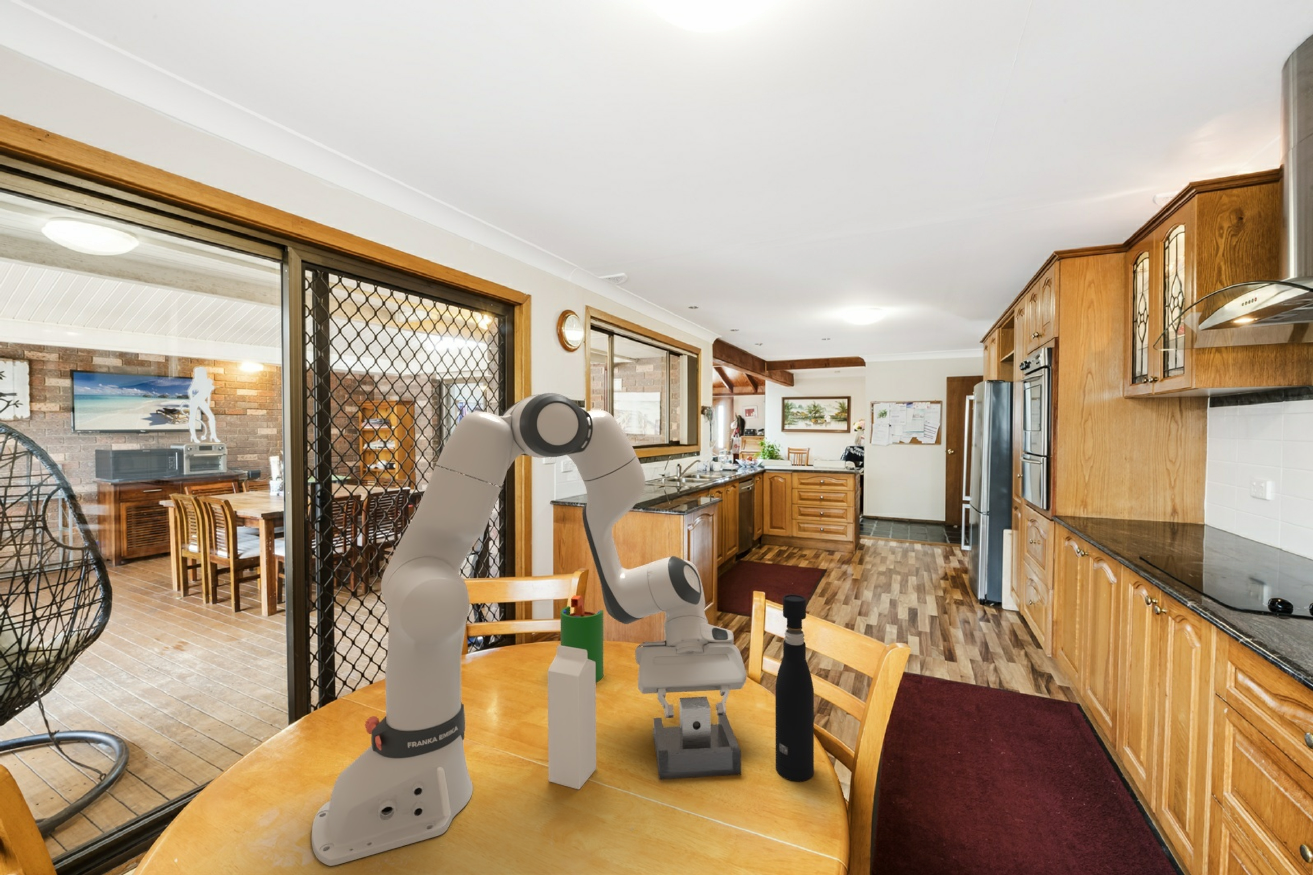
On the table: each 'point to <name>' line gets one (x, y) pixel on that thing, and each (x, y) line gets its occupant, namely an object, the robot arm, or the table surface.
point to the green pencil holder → (583, 632)
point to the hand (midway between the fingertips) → (695, 716)
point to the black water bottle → (794, 699)
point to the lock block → (695, 723)
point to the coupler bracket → (696, 752)
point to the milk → (571, 717)
